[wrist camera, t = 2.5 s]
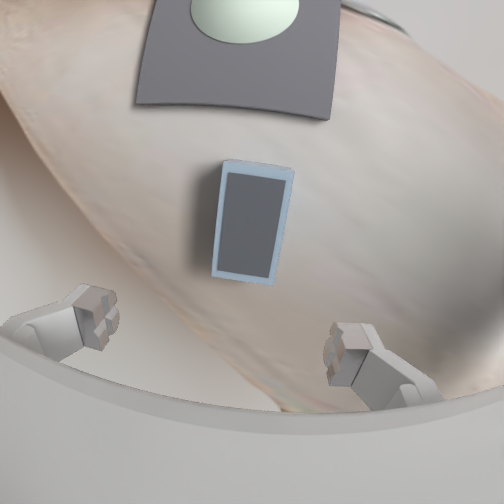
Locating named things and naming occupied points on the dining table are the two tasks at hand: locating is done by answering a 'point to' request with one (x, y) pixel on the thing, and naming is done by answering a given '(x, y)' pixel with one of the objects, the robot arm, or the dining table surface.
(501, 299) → the dining table surface
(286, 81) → the charging mat
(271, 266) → the phone
